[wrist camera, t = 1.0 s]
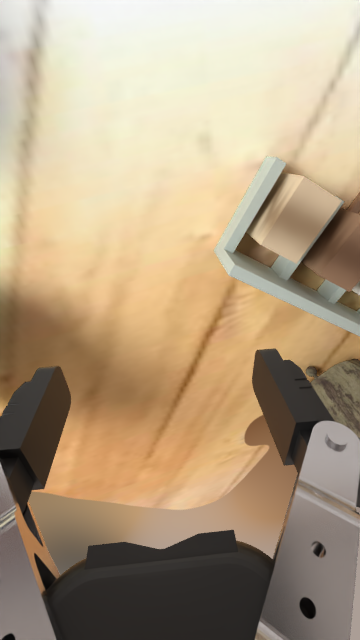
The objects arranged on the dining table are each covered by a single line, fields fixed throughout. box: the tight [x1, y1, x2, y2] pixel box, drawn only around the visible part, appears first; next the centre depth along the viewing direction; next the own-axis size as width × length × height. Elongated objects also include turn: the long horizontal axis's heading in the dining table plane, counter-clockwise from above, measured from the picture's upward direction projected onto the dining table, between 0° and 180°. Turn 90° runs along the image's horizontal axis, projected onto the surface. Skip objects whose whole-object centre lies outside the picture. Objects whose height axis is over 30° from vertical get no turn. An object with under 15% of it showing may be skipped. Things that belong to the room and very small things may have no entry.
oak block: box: [246, 172, 342, 264], centre depth 30 cm, size 7×5×6 cm
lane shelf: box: [214, 157, 360, 336], centre depth 32 cm, size 11×25×8 cm, turn 63°
